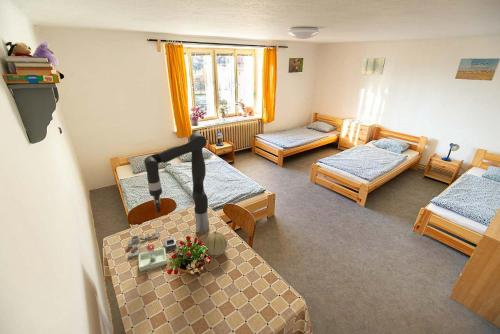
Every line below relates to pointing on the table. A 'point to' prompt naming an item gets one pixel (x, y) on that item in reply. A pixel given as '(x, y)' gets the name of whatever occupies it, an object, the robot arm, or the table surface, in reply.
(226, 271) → the table surface
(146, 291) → the table surface
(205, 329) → the table surface
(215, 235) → the cantaloupe
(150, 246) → the lock pin
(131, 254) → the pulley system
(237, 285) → the table surface
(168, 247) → the tensioner block
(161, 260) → the tray
